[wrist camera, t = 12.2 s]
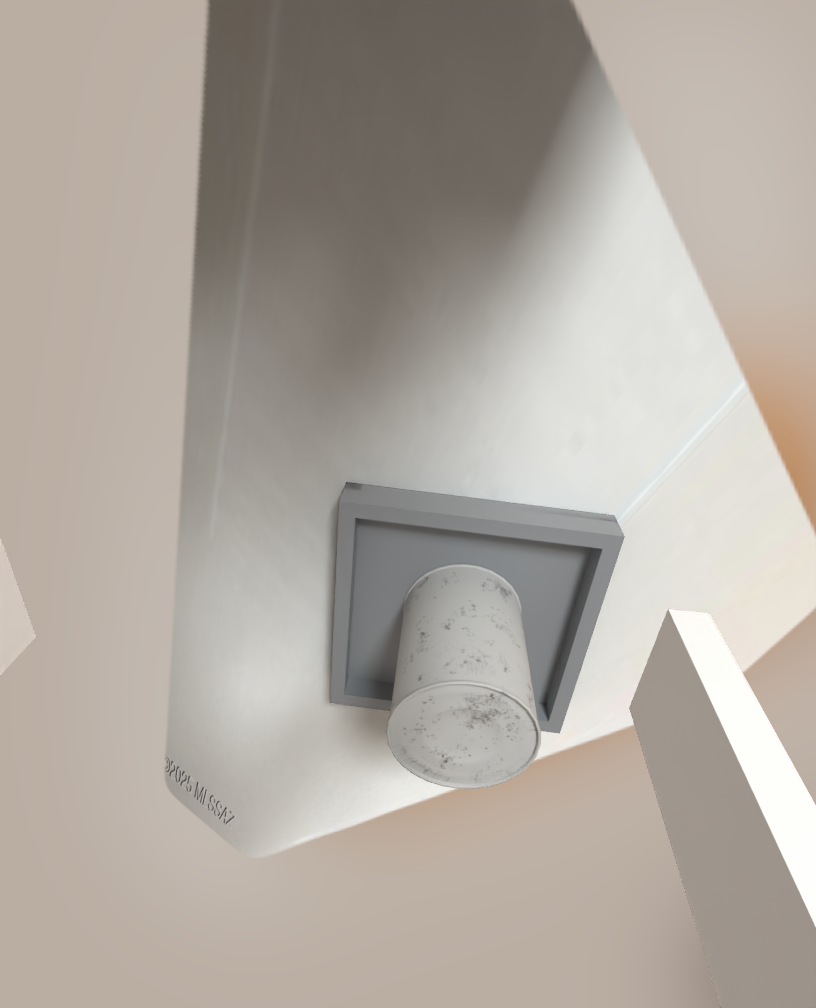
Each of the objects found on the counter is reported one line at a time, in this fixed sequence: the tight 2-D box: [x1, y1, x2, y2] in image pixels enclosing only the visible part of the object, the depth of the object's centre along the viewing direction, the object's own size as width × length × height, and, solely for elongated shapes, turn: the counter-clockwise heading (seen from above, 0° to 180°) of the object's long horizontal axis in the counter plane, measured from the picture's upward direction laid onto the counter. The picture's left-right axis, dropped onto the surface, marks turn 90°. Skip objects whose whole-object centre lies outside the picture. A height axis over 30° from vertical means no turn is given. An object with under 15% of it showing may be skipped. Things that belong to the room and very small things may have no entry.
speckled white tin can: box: [386, 564, 541, 789], centre depth 40 cm, size 10×10×12 cm
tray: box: [330, 482, 624, 733], centre depth 45 cm, size 20×20×3 cm
